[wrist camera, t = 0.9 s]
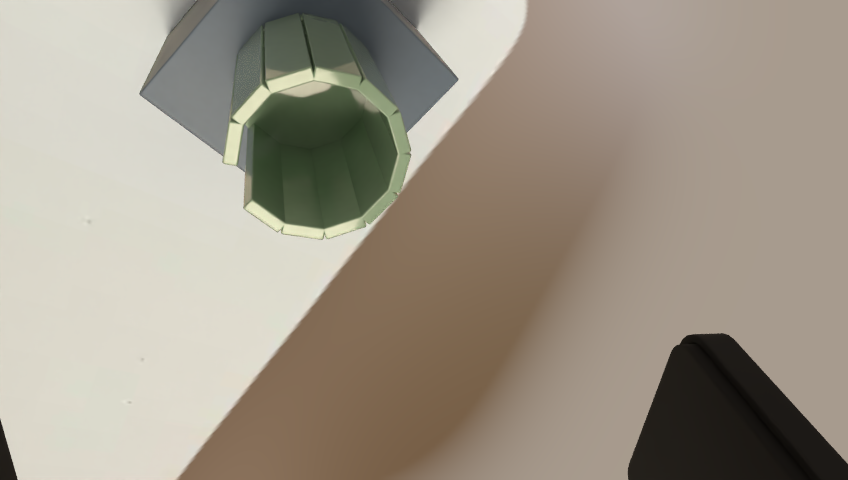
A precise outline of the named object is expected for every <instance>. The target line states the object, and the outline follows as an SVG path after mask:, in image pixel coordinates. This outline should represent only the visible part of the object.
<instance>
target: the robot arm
mask: <svg viewBox="0 0 848 480" xmlns="http://www.w3.org/2000/svg"><path fill="white" fill-rule="evenodd" d="M628 479H629V480H848V464H847V463H846V462H845V461H844V459H842V457H841V456H840V455H839V454H838V453H837V452H836V451H835V450H834V448H833V447H832V446H831V445H830V444H829V443H828V442H827V441H826V440H825V439H824V437H823V436H822V435H821V434H820V433H819V432H818V431H817V430H816V429H815V428H814V426H813V425H811V423H810V422H809V421H808V420H807V419H806V418H805V417H804V416H803V414H802V413H801V412H800V411H799V410H798V409H797V408H796V407H795V406H794V405H793V404H792V402H791V401H790V400H789V399H788V398H787V397H786V396H785V395H784V394H783V393H782V391H780V389H779V388H778V387H777V386H776V385H775V384H774V383H773V382H772V381H771V380H770V378H769V377H768V376H767V375H766V374H765V373H764V372H763V371H762V370H761V368H760V367H759V366H758V365H757V364H756V363H755V362H754V361H753V360H752V359H751V357H749V355H748V354H747V353H746V352H745V351H744V350H743V349H742V348H741V347H740V345H739V344H738V343H737V342H736V341H735V340H734V339H733V338H732V337H730V336H729V335H726V334H723V333H721V334H693V335H688V336H686V337H685V338H684V339H683V340H682V341H681V343H680V345H677V346H675V347H674V348H673V350H672V352H671V354H670V357H669V359H668V362H667V365H666V368H665V370H664V373H663V375H662V378H661V381H660V383H659V386H658V389H657V391H656V394H655V397H654V399H653V402H652V405H651V407H650V410H649V413H648V415H647V418H646V421H645V423H644V426H643V429H642V431H641V434H640V437H639V440H638V442H637V445H636V447H635V450H634V452H633V456H632V458H631V460H630V463H629V467H628ZM0 480H18V479H17V476H16V472H15V469H14V466H13V462H12V459H11V455H10V452H9V448H8V445H7V441H6V438H5V434H4V431H3V427H2V424H1V420H0Z"/></svg>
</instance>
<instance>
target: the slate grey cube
mask: <svg viewBox="0 0 848 480" xmlns="http://www.w3.org/2000/svg"><path fill="white" fill-rule="evenodd" d="M296 13H299V14H300V15H302V13H307V14H311V15H315V16H319V17H323V18H327V19H331V20H335V21H338V23H339V24H340V23H341V24H343V25H344V26H345V27H346V28H347V29H348V30H349V31H350V32H351V33H352V34H353V35H354V36H355V37H356V38H357V39H358V40H360V41H361V42H362V43H363V44H364V45H365V46H366V48H367V50H368V51H369V53H370V55H371V57H372V58H373V60H374V62H375V64H376V66H377V68H378V70H379V72H380V74H381V76H382V78H383V80H384V81H385V83H386V85H387V87H388V89H389V91H390V93H391V95H392V97H393V99H394V101H395V102H396V104H397V106H398V108H399V110H400V112H401V115H402V119H403V122H404V126H405V130H406V133H407V132H408V131H409V130H410V129H411V128H412V127H413V126H414V125H415V124H416V123H417V122H418V121H419V120H420V119H421V118H422V117H423V116H424V115H425V114H426V113H427V112H428V111H429V110H430V109H431V108H432V107H433V106H434V104H435V103H436V102H437V101H438V100H439V99H440V98H441V97H442V96H443V95H444V94H445V93H446V92H447V91H448V90H449V89H450V88H451V87H452V86H453V85H454V84H455V83H456V82H457V81H458V78H457V76H456V75H455V74H454V73H453V72H452V70H451V69H450V68H449V67H448V66H447V65H446V63H445V62H444V61H443V60H442V59H441V57H440V56H439V55H438V54H437V53H436V52H435V50H434V49H433V48H432V47H431V46H430V44H429V43H428V42H427V41H426V40H425V39H424V37H423V36H422V35H421V34H420V33H419V31H418V30H417V29H416V28H415V27H414V26H413V25H412V24H411V23H410V22H409V21H408V20H407V19H406V18H405V17H404V16H403V15H402V14H401V13H400V12H399V11H398V10H397V9H396V8H395V7H394V5H393V4H392V3H391V2H390V1H389V0H197V2H196V3H195V4H194V5H193V6H192V8H191V9H190V10H189V11H188V12H187V14H186V15H185V16H184V17H183V18H182V20H181V21H180V22H179V23H178V24H177V26H176V27H175V28H174V29H173V30H172V32H171V33H170V34H169V35H168V36H167V38H166V40H165V42H164V44H163V46H162V48H161V50H160V52H159V54H158V57H157V59H156V61H155V63H154V65H153V67H152V69H151V71H150V73H149V75H148V77H147V79H146V81H145V83H144V85H143V87H142V89H141V91H140V95H141V96H142V97H143V98H145V99H146V100H147V101H149V102H150V103H151V104H153V105H154V106H156V107H157V108H158V109H160V110H161V111H162V112H164V113H165V114H166V115H168V116H169V117H171V118H172V119H173V120H175V121H176V122H177V123H179V124H180V125H181V126H183V127H184V128H186V129H187V130H188V131H190V132H191V133H192V134H194V135H195V136H196V137H198V138H199V139H200V140H202V141H203V142H205V143H206V144H207V145H209V146H210V147H211V148H213V149H214V150H215V151H217V152H218V153H220V154H221V155H222V156H223V154H224V146H225V137H226V129H227V121H228V113H229V105H230V97H231V89H232V82H233V75H234V68H235V62H236V56H237V55H238V52H239V50H240V49H241V48H242V47H243V45H244V44H245V43H246V42H247V41H248V40H249V39H250V37H251V36H252V35H253V34H254V33H255V32H256V31H257V29H258V28H259V27H260V26H264V24H265V23H267V22H270V21H273V20H276V19H280V18H283V17H286V16H289V15H293V14H296ZM246 146H247V126H246V125H244V130H243V136H242V142H241V148H240V155H239V161H238V165H237V167H239V168H240V169H241V170H243V171H244V172H245V166H246Z"/></svg>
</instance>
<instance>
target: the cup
mask: <svg viewBox="0 0 848 480" xmlns="http://www.w3.org/2000/svg"><path fill="white" fill-rule="evenodd" d="M244 125H246V126H247V146H246V166H245V187H244V207H243V208H244V209H245V210H246V211H248V212H249V213H251V214H252V215H253V216H255V217H256V218H258V219H259V220H261V221H262V222H263V223H265V224H266V225H268V226H269V227H271V228H272V229H273V230H275V231H276V232H279V231H280V230H281V233H282V234H285V235H293V236H300V237H307V238H314V239H321V240H322V239H323V238H324V234H325V237H326V238H327V239H330V238H333V237H336V236H339V235H342V234H345V233H348V232H351V231H354V230H357V229H361V228H364V227H366V223H365V222H367V223H368V224H371V223H372V222H373V221H374V220H375V219H376V218H377V217H378V216H379V215H380V214H381V213H382V212H383V211H384V210H385V209H386V208H387V207H388V206H389V205H390V204H391V203H392V202H393V201H394V200H395V199H396V198H397V197H398V195H397V193H400V192H401V189H402V185H403V182H404V178H405V175H406V171H407V168H408V164H409V161H410V158H411V154H410V151H411V148H410V144H409V140H408V137H407V133H406V130H405V126H404V122H403V119H402V115H401V112H400V110H399V108H398V106H397V104H396V102H395V101H394V99H393V97H392V95H391V93H390V91H389V89H388V87H387V85H386V83H385V81H384V80H383V78H382V76H381V74H380V72H379V70H378V68H377V66H376V64H375V62H374V60H373V58H372V57H371V55H370V53H369V51H368V50H367V48H366V46H365V45H364V44H363V43H362V42H361V41H360V40H358V39H357V38H356V37H355V36H354V35H353V34H352V33H351V32H350V31H349V30H348V29H347V28H346V27H345V26H344V25H343V24H341V23H340V24H339V23H338V21H335V20H331V19H327V18H323V17H319V16H315V15H311V14H307V13H302V15H300V14H299V13H296V14H293V15H289V16H286V17H283V18H280V19H276V20H273V21H270V22H267V23H265V24H264V26H260V27H259V28H258V29H257V31H256V32H255V33H254V34H253V35H252V36H251V37H250V39H249V40H248V41H247V42H246V43H245V44H244V45H243V47H242V48H241V49H240V50H239V52H238V55H237V56H236V62H235V68H234V75H233V82H232V89H231V97H230V105H229V113H228V121H227V129H226V137H225V146H224V154H223V163H224V164H228V165H234V166H237V165H238V161H239V155H240V148H241V142H242V136H243V130H244Z"/></svg>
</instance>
